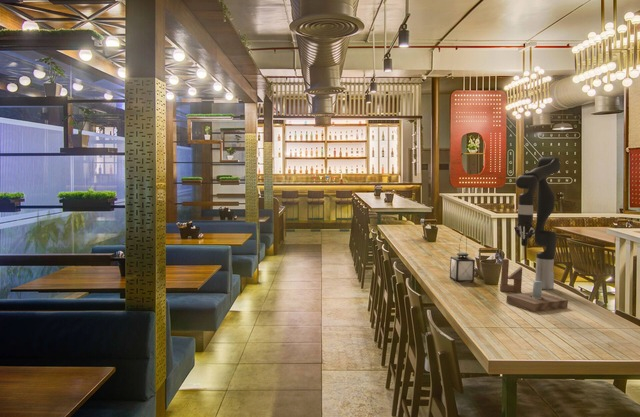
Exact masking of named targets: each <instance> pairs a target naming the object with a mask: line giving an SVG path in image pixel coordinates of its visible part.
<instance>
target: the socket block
mask: <svg viewBox="0 0 640 417" xmlns="http://www.w3.org/2000/svg"><path fill="white" fill-rule="evenodd" d="M532 296H533V291H530V292H529V291H528V292H522V293H521V292H519V293H512V294H511V293H510V294H506V304H510V305H513V306H516V307H517V308H520V309H524V310H526V311H529V312H530V311H531V312H532V313H538V312H545V311H553V310H554V311H555V310H561V309H568V306H569V299H565V298H563V297H560V296H555V295H552V294H548V293H546V292H542V293H541V299H535V298H532Z"/></svg>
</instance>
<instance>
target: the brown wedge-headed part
mask: <svg viewBox="0 0 640 417" xmlns="http://www.w3.org/2000/svg"><path fill="white" fill-rule="evenodd" d="M509 263H510V260H509V259H508V258H502V259H501V272H500V273H501V276H500V283H499V291H500V292H505V293H506V292H507V293H509V292H510V293H521V292H522V282H523V281H522V279H523V267H522V266H519V267H518V268H517V269H515V270H514V271H513V272H512V273H511V274H510V275H509V269H510V268H509ZM509 280H513V284H510V283H509V284H508V281H509Z"/></svg>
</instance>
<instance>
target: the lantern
mask: <svg viewBox="0 0 640 417" xmlns="http://www.w3.org/2000/svg"><path fill="white" fill-rule="evenodd" d="M464 235H465V238H466V240H465V241H466V244H465V245H466V246H465V248H466V249H465V251H467V248H468V247H467V245H468V244H467V243H468V242H467V241H468V239H467V238H468V237H467V235H466V234H462V235H461V237H460V239H459V240H460V241H461V240H462V237H463V236H464ZM460 246H461V245H459V248H458V251H459V252H457V253H456V255H457V256H450V263H449V264H450V266H449V278H450V279H451V280H453V281H454V282H456V283H459V282H461V283H462V282H464V283H465V282H466V281H474V282H475V268H476V267H475V264H476V262H475V261H476V259H473V258H472V257H469V253H467V252H460V250H461V247H460Z"/></svg>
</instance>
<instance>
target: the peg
mask: <svg viewBox="0 0 640 417" xmlns="http://www.w3.org/2000/svg"><path fill="white" fill-rule="evenodd" d="M542 290H543V289H542V282H541V281H535V280H533V283H532V292H533V296H532V298H535V299H541V293H542Z"/></svg>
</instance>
